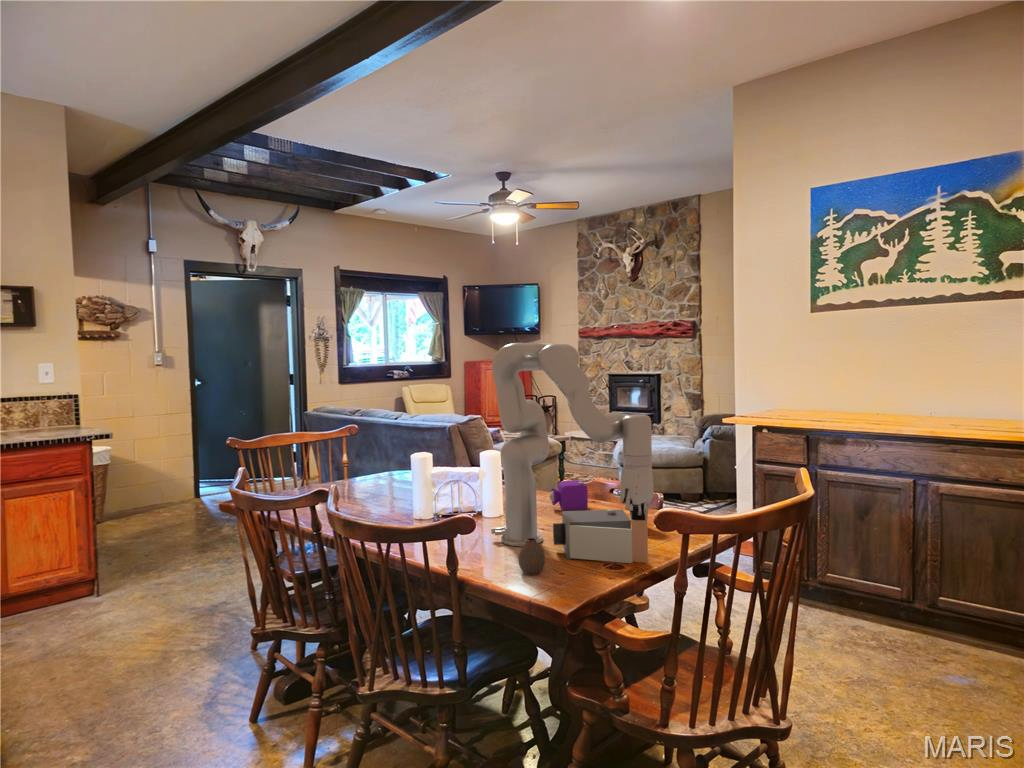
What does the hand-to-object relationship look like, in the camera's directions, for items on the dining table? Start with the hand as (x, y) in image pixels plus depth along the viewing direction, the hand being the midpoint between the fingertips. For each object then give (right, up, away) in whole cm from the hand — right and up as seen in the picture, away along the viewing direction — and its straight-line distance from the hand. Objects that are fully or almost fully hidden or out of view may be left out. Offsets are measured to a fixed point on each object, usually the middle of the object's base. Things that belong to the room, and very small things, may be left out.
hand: (638, 528), depth 164 cm
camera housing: (-11, -9, +11) cm, 18 cm away
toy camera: (-13, -7, +58) cm, 60 cm away
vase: (-29, -11, -5) cm, 31 cm away
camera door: (-9, -9, +1) cm, 13 cm away
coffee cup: (+7, -8, +32) cm, 34 cm away
